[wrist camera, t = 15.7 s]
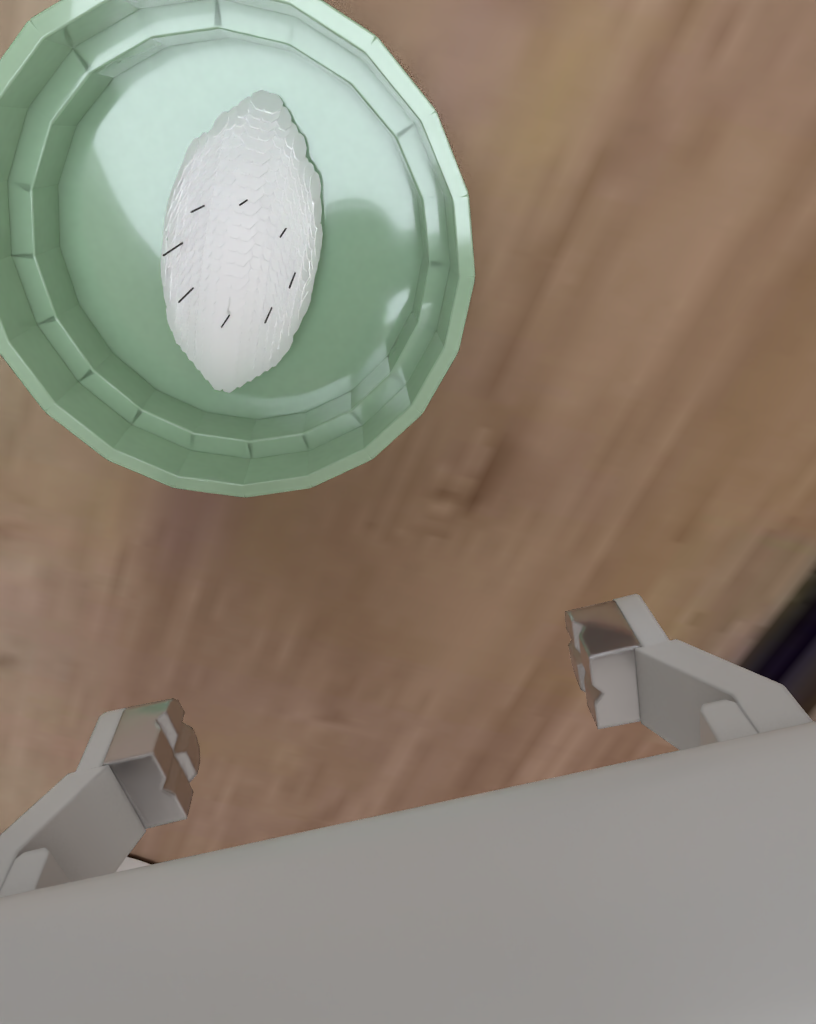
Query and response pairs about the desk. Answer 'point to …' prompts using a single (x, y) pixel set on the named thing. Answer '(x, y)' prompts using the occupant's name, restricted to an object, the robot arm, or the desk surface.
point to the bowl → (140, 224)
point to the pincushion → (241, 242)
